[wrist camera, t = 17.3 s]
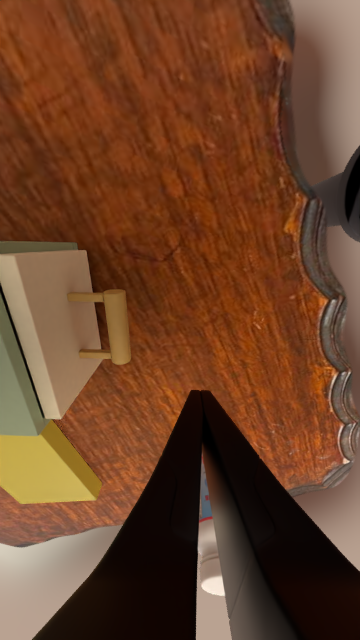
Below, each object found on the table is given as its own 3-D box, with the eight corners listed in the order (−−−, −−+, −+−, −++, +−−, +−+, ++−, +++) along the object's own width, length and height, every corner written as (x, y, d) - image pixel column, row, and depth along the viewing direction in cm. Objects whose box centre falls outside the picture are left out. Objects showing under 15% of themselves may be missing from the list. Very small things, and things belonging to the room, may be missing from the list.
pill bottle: (238, 454, 28) (270, 580, 17) (220, 478, 30) (239, 603, 20) (200, 443, 27) (209, 568, 17) (184, 468, 29) (184, 593, 19)
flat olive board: (-69, 390, 24) (39, 495, 33) (-92, 403, 22) (29, 512, 31) (9, 366, 23) (102, 483, 31) (-8, 378, 21) (96, 499, 29)
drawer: (135, 251, 17) (97, 256, 10) (141, 360, 21) (120, 421, 14) (-64, 246, 17) (-248, 248, 10) (-17, 355, 21) (-121, 414, 14)
